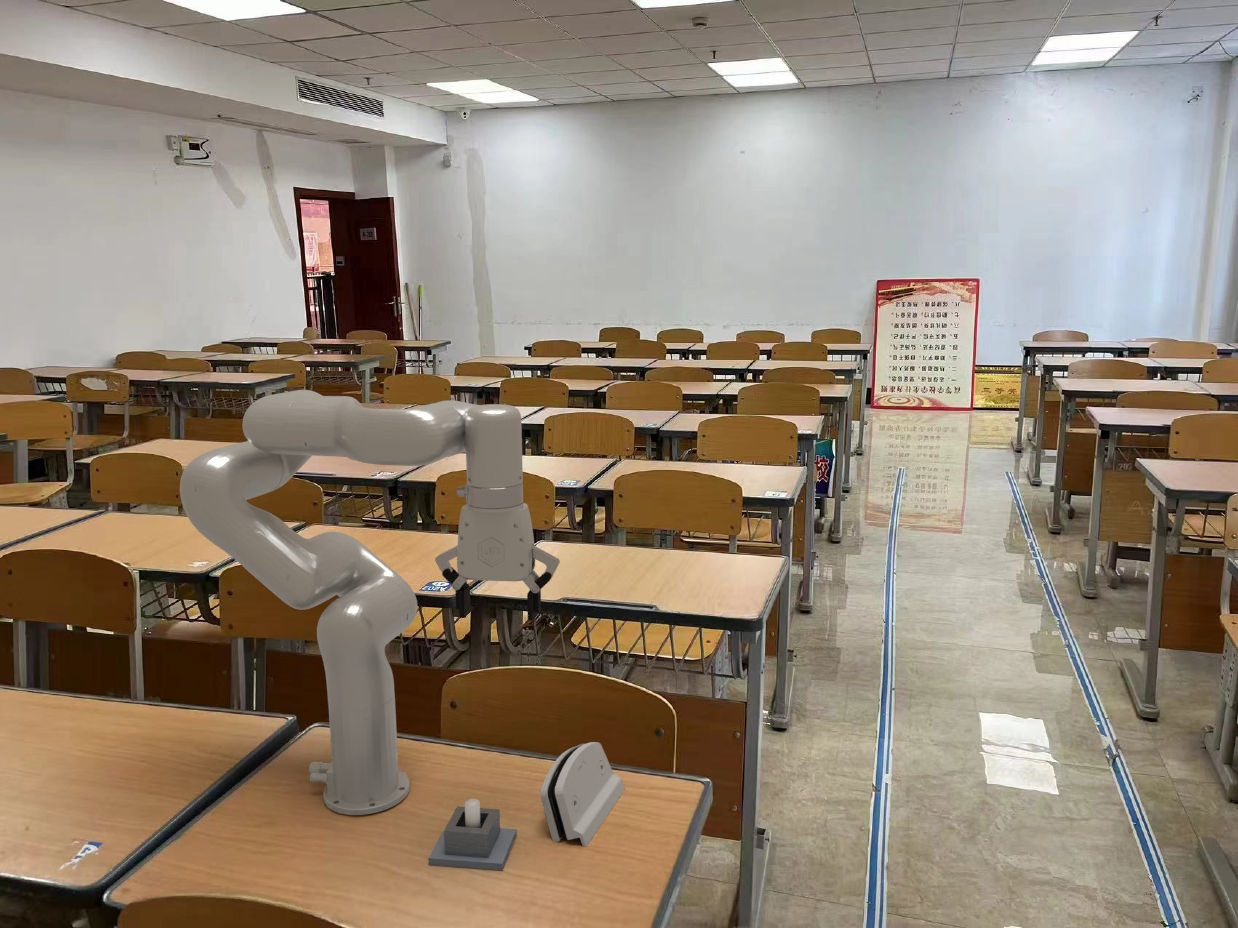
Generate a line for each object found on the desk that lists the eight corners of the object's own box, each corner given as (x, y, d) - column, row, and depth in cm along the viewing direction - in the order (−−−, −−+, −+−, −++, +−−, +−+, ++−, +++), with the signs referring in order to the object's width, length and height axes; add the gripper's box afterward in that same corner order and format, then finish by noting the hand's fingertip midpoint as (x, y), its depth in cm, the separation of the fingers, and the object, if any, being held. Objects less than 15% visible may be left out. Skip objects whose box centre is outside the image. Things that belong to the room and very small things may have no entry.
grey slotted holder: (585, 848, 127) (561, 780, 127) (555, 852, 129) (532, 785, 129) (626, 787, 143) (605, 726, 142) (599, 791, 145) (578, 731, 144)
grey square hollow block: (444, 854, 124) (443, 830, 124) (458, 829, 130) (457, 806, 130) (488, 858, 124) (487, 834, 123) (500, 832, 129) (499, 809, 129)
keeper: (428, 864, 124) (426, 816, 122) (447, 830, 132) (445, 785, 130) (502, 870, 123) (501, 822, 121) (516, 835, 130) (515, 789, 129)
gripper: (424, 500, 124) (430, 622, 127) (552, 504, 122) (554, 628, 125) (442, 488, 131) (446, 604, 135) (563, 491, 129) (564, 609, 132)
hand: (498, 615), depth 130 cm, fingers open, 9 cm apart
